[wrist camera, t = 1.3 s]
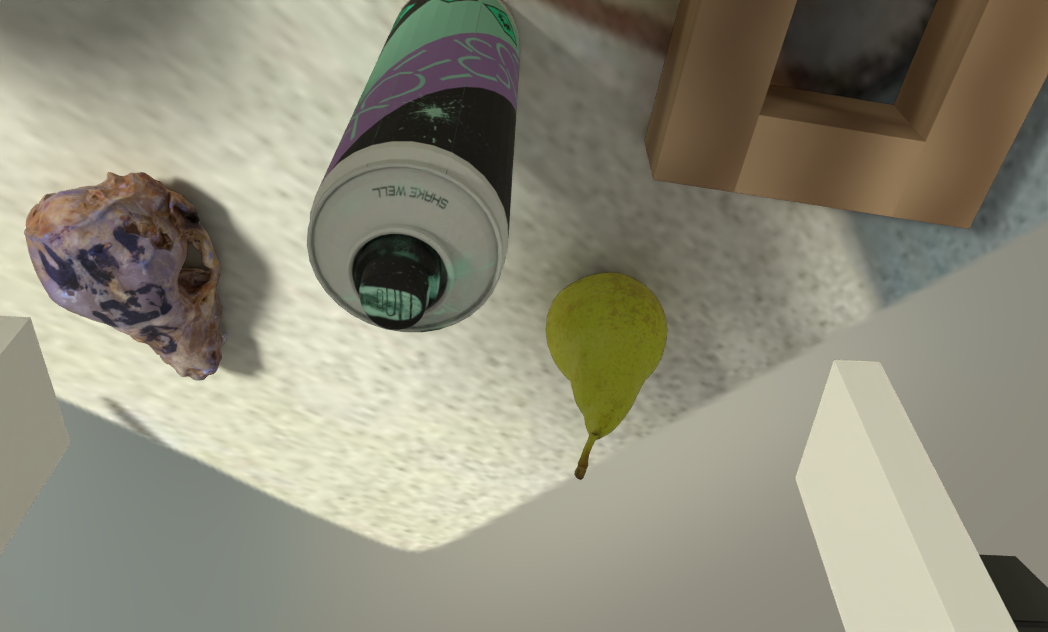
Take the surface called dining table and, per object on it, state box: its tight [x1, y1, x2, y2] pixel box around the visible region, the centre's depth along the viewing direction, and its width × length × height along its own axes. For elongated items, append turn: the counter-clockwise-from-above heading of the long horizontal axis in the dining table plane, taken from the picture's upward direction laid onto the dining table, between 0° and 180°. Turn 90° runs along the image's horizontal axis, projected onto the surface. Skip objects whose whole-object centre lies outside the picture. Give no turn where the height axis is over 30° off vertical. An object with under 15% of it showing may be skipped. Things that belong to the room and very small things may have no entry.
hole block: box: [645, 0, 1048, 229], centre depth 36 cm, size 14×14×4 cm
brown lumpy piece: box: [24, 172, 227, 380], centre depth 42 cm, size 12×8×6 cm, turn 8°
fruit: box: [546, 273, 667, 480], centre depth 41 cm, size 6×6×12 cm
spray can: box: [307, 0, 520, 332], centre depth 30 cm, size 6×6×20 cm
